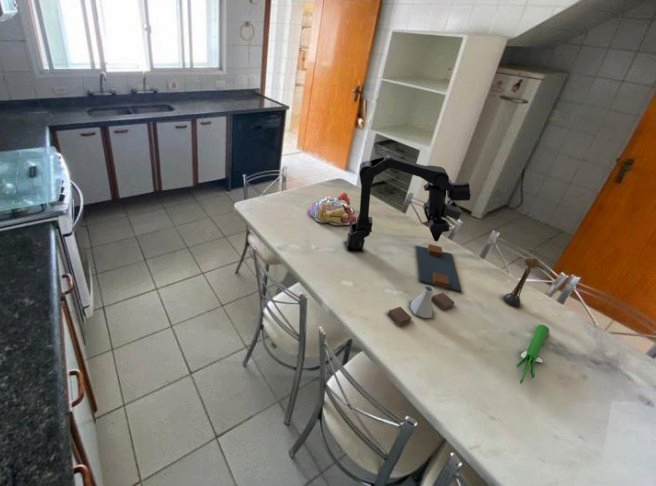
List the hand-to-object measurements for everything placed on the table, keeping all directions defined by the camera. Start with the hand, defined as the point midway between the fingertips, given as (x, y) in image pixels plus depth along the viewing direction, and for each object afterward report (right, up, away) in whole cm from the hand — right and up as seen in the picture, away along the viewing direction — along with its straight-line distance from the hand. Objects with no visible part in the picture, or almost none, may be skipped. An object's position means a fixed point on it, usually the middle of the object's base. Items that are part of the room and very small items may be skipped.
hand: (434, 234), depth 131 cm
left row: (-14, -24, -18) cm, 33 cm away
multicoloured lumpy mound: (-32, +5, +38) cm, 50 cm away
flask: (-14, -24, -18) cm, 33 cm away
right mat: (+3, -14, +3) cm, 15 cm away
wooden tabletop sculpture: (+22, -23, -12) cm, 34 cm away
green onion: (+12, -32, -32) cm, 47 cm away
